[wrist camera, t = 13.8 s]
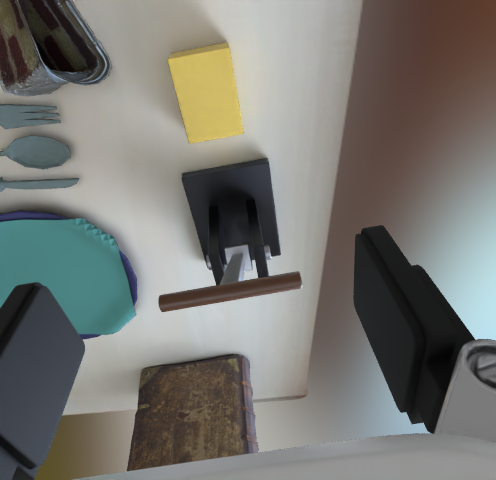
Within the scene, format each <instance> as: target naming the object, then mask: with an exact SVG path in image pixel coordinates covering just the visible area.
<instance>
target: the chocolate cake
mask: <svg viewBox="0 0 496 480" xmlns="http://www.w3.org/2000/svg"><path fill="white" fill-rule="evenodd" d="M109 59H110V58H109V57H108V55H107V54H106V52H105V51H104V49H103V48H102V46H101V43H100V41H97V40H96V38H95V37H94V33H93V32H92V30H91V29H90V28H89V26H88V25H87V23H86V22H85V20H84V19H83V18H82V16H81V15H80V13H79V11H77V9H76V7H75V5H74V3H73V2H72V1H71V0H0V84H1V87H2V89H3V91H4V92H5V93H8V94H13V95H18V96H34V95H41V94H51V93H52V92H54V91H55V90H56V89H58V88H59V87H60V86H61V85H63V84H67V83H69V82H72V83H75V84H81V85H89V84H98V83H100V82H102V80H104V79H105V78H106V77H108V76H109V73H110V70H111V64H110V61H109Z"/></svg>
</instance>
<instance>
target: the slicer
mask: <svg viewBox="0 0 496 480" xmlns="http://www.w3.org/2000/svg"><path fill="white" fill-rule="evenodd" d="M182 182H183V185H184V189H185V192H186V196H187V199H188V203H189V206H190V209H191V213H192V216H193V220H194V223H195V227H196V230H197V234H198V237H199V241H200V244H201V247H202V251H203V254H204V258H205V261H206V265H207V268H208V269H209V270H212V271H213V275H214V278H215V282H216V285H220V283H221V281H222V278H223V276H224V273H225V271H226V268H227V261H226V255H225V250H224V249H225V247H226V246H227V245H232V244H237V243H243V242H248V243H249V249H250V254H251V260H255V262H256V268H257V273H258V278H262V277H268V276H269V273H268V267H267V261H266V260H269V259H271V257H272V256H278V255H281V252H280V244H279V237H278V229H277V221H276V214H275V206H274V199H273V191H272V183H271V176H270V168H269V162H268V159H267V158H265V159H260V160H254V161H249V162H243V163H238V164H232V165H227V166H221V167H215V168H210V169H204V170H199V171H193V172H188V173H183V174H182Z"/></svg>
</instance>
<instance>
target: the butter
mask: <svg viewBox="0 0 496 480" xmlns="http://www.w3.org/2000/svg"><path fill="white" fill-rule="evenodd" d="M167 61H168V64H169V68H170V72H171V76H172V80H173V84H174V87H175V91H176V95H177V99H178V103H179V107H180V110H181V114H182V118H183V122H184V126H185V130H186V133H187V137H188V141H189V144H191V143H197V142H202V141H207V140H213V139H218V138H224V137H229V136H235V135H240V134H244V131H243V125H242V119H241V113H240V107H239V101H238V96H237V90H236V84H235V78H234V72H233V66H232V60H231V54H230V48H229V44H228V42H226V43H221V44H215V45H210V46H205V47H200V48H194V49H189V50H184V51H179V52H173V53H171V54H170V56H169V57H168V59H167Z"/></svg>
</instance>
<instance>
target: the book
mask: <svg viewBox="0 0 496 480" xmlns="http://www.w3.org/2000/svg"><path fill="white" fill-rule="evenodd" d="M139 383H140V384H139V397H138V410H137V412H136V414H135V425H134V431H133V435H132V441H131V449H130V455H129V461H128V467H127V471H133V470H140V469H147V468H154V467H161V466H167V465H174V464H181V463H188V462H195V461H202V460H208V459H215V458H222V457H229V456H236V455H243V454H251V453H258V443H257V440H256V430H255V414H254V411H253V402H252V395H253V392H252V387H251V384H250V363H249V361H248V359H246V358H245V357H244V356H239V355H230V356H222V357H218V358H215V359H209V360H203V361H197V362H192V363H185V364H179V365H166V366H158V367H152V368H147V369H144V370H142V372H141V376H140V382H139Z"/></svg>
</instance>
